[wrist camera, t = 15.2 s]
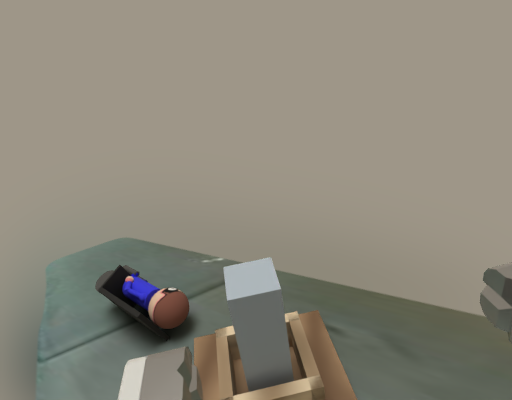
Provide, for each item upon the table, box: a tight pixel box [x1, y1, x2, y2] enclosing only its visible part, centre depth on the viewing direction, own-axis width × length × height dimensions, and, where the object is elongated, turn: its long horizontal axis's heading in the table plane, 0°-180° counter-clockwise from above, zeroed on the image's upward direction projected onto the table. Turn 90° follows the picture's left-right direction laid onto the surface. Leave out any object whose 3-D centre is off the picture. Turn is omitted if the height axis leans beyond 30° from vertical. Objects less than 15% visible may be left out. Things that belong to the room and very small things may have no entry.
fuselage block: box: [224, 257, 294, 392], centre depth 33 cm, size 4×4×14 cm
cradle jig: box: [194, 310, 357, 400], centre depth 36 cm, size 16×16×5 cm
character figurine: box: [96, 265, 189, 341], centre depth 47 cm, size 8×7×15 cm
